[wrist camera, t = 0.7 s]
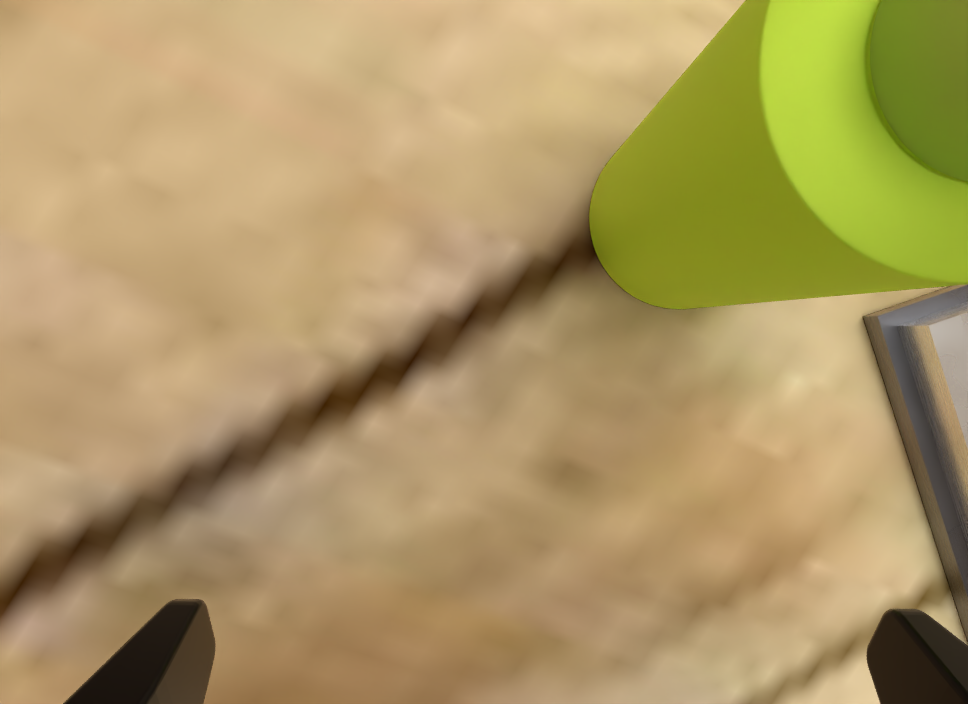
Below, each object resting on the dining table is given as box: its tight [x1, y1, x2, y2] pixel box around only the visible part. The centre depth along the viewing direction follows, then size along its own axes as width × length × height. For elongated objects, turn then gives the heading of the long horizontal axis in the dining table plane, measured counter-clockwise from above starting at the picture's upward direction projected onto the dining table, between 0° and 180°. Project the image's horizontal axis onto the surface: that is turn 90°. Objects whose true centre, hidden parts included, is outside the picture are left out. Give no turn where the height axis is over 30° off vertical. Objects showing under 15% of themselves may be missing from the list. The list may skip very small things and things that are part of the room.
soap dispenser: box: [589, 0, 968, 309], centre depth 13 cm, size 6×7×20 cm
